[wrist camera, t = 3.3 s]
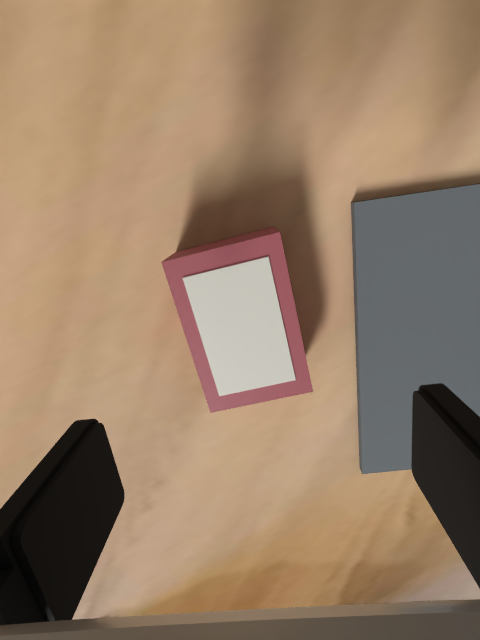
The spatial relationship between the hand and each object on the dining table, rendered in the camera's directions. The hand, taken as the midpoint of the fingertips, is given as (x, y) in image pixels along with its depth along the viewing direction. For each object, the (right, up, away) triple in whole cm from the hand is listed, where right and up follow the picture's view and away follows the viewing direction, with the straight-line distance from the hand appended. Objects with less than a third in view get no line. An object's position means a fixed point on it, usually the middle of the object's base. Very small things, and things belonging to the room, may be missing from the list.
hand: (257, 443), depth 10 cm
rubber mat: (+13, +2, +12) cm, 18 cm away
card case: (0, +4, +12) cm, 12 cm away
